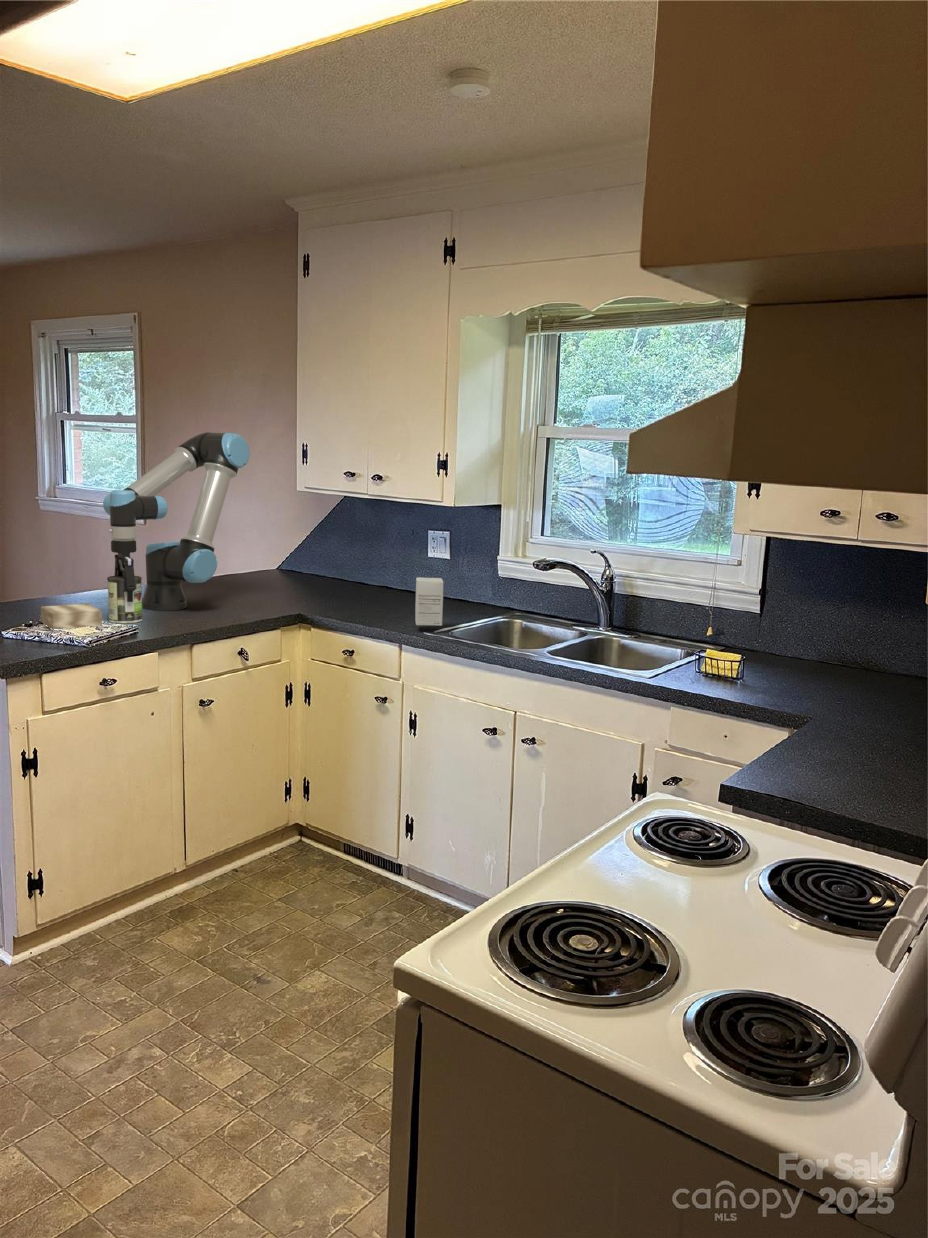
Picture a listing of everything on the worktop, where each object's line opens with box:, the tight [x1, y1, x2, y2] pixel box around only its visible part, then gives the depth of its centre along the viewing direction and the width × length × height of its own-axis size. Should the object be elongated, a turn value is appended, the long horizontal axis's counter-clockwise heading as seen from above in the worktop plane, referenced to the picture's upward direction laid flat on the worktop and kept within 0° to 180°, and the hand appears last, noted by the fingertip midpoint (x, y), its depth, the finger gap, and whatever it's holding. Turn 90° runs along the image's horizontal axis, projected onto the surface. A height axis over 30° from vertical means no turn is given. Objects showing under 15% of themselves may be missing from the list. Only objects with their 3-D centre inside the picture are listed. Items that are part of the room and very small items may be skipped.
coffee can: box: [106, 575, 143, 624], centre depth 298 cm, size 10×10×14 cm
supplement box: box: [414, 577, 444, 626], centre depth 314 cm, size 9×9×15 cm
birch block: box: [40, 603, 103, 630], centre depth 286 cm, size 14×14×6 cm
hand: (125, 609), depth 299 cm, fingers closed on coffee can, 10 cm apart
